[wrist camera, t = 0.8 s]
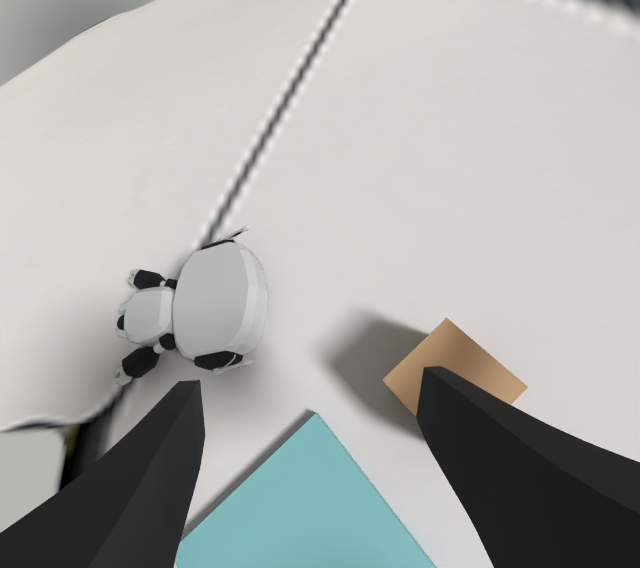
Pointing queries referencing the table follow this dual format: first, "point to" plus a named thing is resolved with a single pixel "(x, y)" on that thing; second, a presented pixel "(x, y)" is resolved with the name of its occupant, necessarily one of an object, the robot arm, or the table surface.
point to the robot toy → (197, 311)
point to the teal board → (304, 515)
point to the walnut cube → (451, 367)
